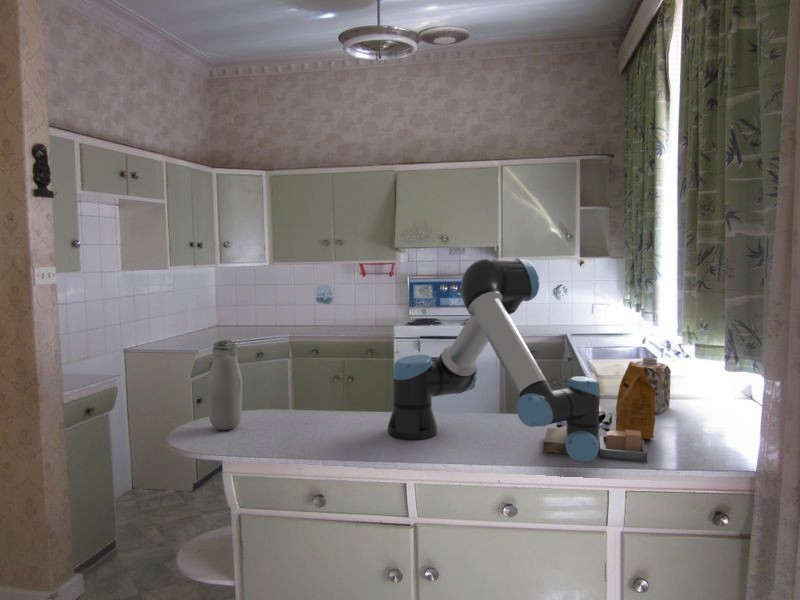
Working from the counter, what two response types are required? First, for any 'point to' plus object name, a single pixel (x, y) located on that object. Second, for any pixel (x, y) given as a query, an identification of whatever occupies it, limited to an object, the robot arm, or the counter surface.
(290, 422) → the counter surface
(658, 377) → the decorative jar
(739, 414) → the counter surface
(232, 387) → the glass bottle
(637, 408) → the coffee package
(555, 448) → the board
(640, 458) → the tray
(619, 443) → the salmon pink block
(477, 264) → the robot arm
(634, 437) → the salmon orange block
